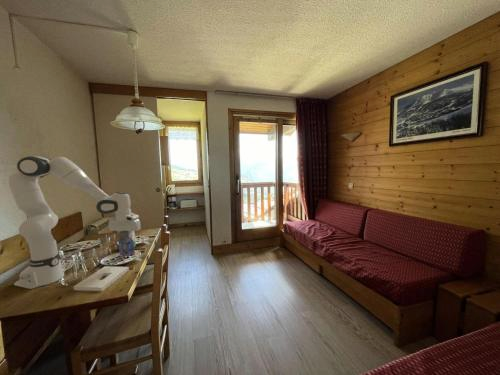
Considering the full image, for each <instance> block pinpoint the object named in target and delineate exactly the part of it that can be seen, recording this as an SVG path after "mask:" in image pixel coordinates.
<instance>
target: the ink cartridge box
mask: <svg viewBox="0 0 500 375" xmlns="http://www.w3.org/2000/svg"><path fill="white" fill-rule="evenodd" d="M117 242H118V243H117V244H118V251H119V256H120V255H122V256H121V257H123V256H127V257H129V256H132V255H134V256H135V255H136V251H135V247H134V242H133V239H132V240H131V241H129V242H127V243H120V241H118V240H117ZM127 257H126V258H127ZM132 257H133V256H132Z"/></svg>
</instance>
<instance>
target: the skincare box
mask: <svg viewBox="0 0 500 375" xmlns="http://www.w3.org/2000/svg"><path fill="white" fill-rule="evenodd" d="M135 232H136V231H133V232H132V234H131V235H133V236H132V237H131V238H132V239H133V242H134V248H135V247H136V245H137V243H136V242H137V241H136V234H135Z"/></svg>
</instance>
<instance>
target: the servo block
mask: <svg viewBox="0 0 500 375" xmlns="http://www.w3.org/2000/svg"><path fill="white" fill-rule="evenodd" d="M128 234H129V232H128V231H121V232H120V233H119V234H118V237H119V239H118V240H117V242H118V241H120V243H127V242H129V241H131V240H132V238H131V237H132V236H133V235H131V237H127V235H128Z"/></svg>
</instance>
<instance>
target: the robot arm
mask: <svg viewBox="0 0 500 375" xmlns="http://www.w3.org/2000/svg"><path fill="white" fill-rule="evenodd" d="M16 169H17V170H18V171H16V172H13V173H11V174H10V175H9V176H8V184H9V188H10V191H11V194H12V197H13V198H14V201H15V204H16V206H17V208H18V210H20V211H22V212H23V213H24V214H25V215H26V216H27V219H25V220H24V221H23V222H22V223H21V224H20V225H19V226H18V233H19V234H20V236H21V237H23V238H24V239H25V241H26V243H27V244H28V247H29V254H30V258H29V259H28V260H27V262H28V263H29V265H28V266H27V267H26V268H24V269H23V270H22V271H21V272H20V274H19V279H18V280H17V281H15V282H14V283H13V286H15V287H20V288H24V289H30V290H32V289H36V288H38V287H42V286H47V285H49V284H52V283H55V282H57V281H59V280H60V279H62V278H64V277H65V271H64V272H63V270H64V268H63V265H62V261H61V260H60V259H61V258H60V254H59V252H58V251H59V250H58V244H57V240H56V239H54V236H53V235H52V229H54V228H55V227H56V226H57V224H58V222H59V217H58V215H57V214H56V213H54V212H53V210H52V209H51V207H50V205H49V204H48V202H47V201H46V199H45V196H44V194H43V191H42V189H41V187H40V185H39V179H42V178H44V177H46V176H48V175H50V174H53V175H54V176H56V177H57V178H59V179H60V180H61V181H62V182H63V183H64V184H65V185H67V186H68V187H71V188H73V189H78V190H82V191H84V192H87V193H88V194H89V195H91V197H93V198H94V199H95V200H96V201H98V202H97V203H96V211H97V212H99V214H102V215H107V214H112V213H115V216H110V217H108V231H111V232H114V231H116V232H117V234H118V235H119V233H120V232H122V231H128V232H129V234H128V235H127V237H131V234H132V232H133V231H134V232H138V231H140V230H141V228H142V227H141V226H142V225H141V221H140V219H139V218H140V215H139V214H136V213H134V212H132V209H131V203H132V202H131V197H130V194H128V193H127V192H125V191H124V192H123V191H116V192H115V193H113V194H112V195H110V194H108V193H107V192H105V191H103V190H102V188H100V187H99V186H98V185H96V184H95V183H94V181H92V179H91V178H90V177H89V176H88V175H87V173H85V172H84V170H83V169H82V168H80V166H78V165H77V164H75V163H74V161H72V160H70V159H69V158H67V157H64V156H57V157H55V158H52V159H51V158H49V157H46V156H42V155H41V156H39V155H32V156H31V155H30V156H25V157H22V158H21V159H19V161H18V162H17V165H16Z"/></svg>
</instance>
